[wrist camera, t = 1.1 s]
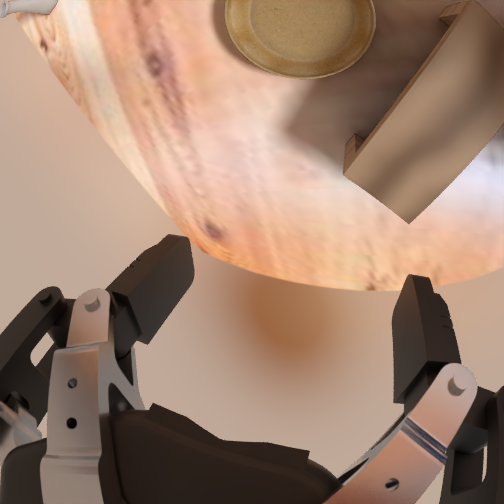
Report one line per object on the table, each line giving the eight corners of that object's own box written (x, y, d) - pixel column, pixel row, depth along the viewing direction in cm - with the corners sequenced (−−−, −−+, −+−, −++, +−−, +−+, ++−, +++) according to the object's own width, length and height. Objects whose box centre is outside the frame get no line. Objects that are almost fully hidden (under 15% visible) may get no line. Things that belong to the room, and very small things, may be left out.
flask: (51, -25, 15) (4, -15, 8) (66, -14, 17) (15, -4, 11) (36, 7, 19) (-8, 20, 13) (50, 20, 22) (3, 34, 15)
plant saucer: (240, 77, 27) (232, 81, 25) (226, -32, 17) (216, -36, 15) (374, 82, 22) (376, 86, 21) (367, -38, 12) (368, -45, 10)
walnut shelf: (345, 146, 28) (342, 174, 23) (446, 6, 12) (474, -1, 7) (400, 187, 29) (408, 224, 24) (503, 63, 13) (538, 75, 8)
